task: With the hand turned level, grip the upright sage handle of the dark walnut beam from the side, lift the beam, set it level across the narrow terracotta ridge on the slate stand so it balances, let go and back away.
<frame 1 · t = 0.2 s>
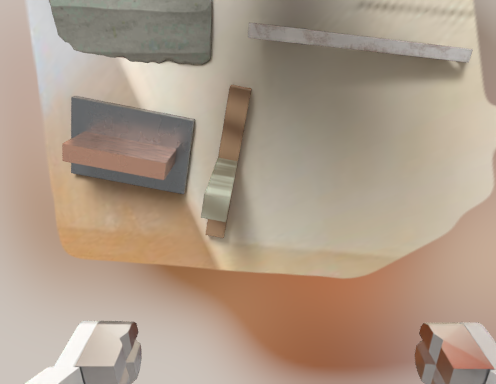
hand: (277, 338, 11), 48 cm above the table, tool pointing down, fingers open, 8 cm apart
stone slab: (133, 24, 53), on the table
walnut beam: (227, 163, 59), on the table
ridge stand: (132, 145, 59), on the table
wrench: (357, 42, 52), on the table
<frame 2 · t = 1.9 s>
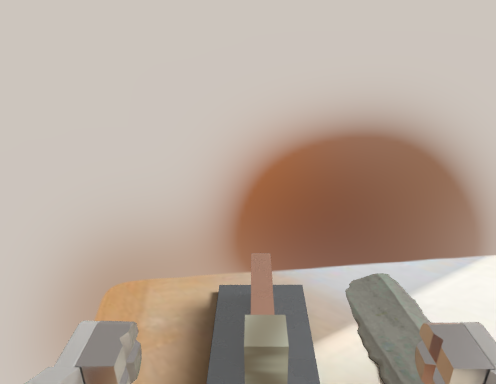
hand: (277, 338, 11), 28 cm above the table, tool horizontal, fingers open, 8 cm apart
stone slab: (395, 335, 48), on the table
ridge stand: (261, 338, 47), on the table
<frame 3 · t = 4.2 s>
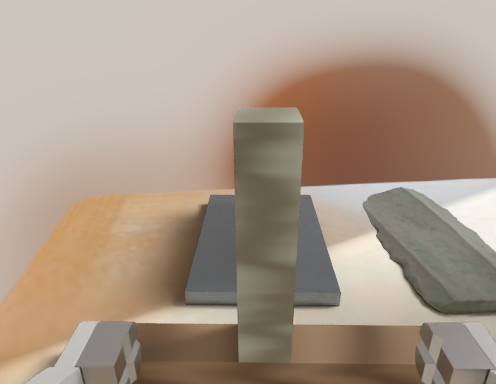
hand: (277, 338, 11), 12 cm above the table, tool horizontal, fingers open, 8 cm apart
stone slab: (423, 243, 39), on the table
walnut beam: (263, 371, 24), on the table
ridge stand: (260, 243, 38), on the table
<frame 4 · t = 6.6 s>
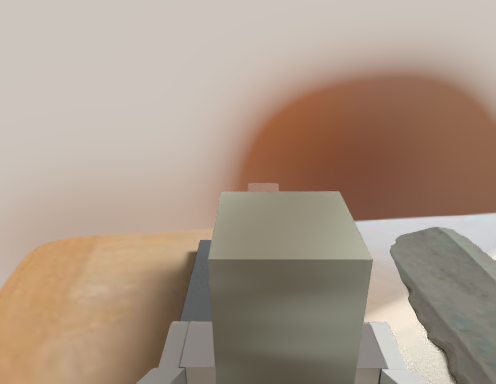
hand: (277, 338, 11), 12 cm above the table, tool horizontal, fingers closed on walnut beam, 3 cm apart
stone slab: (469, 311, 30), on the table
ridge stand: (264, 315, 29), on the table
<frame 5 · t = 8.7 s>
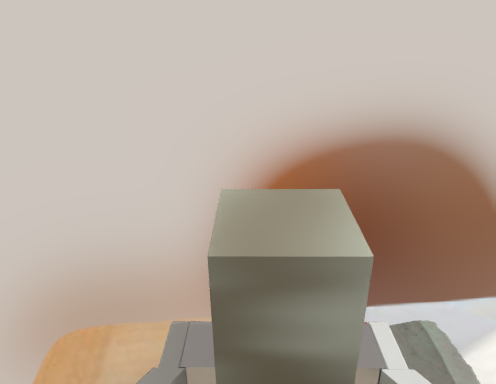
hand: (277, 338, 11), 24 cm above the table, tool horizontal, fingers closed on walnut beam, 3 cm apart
when the fingers open (21 cm above the table, at t = 10.9 s): walnut beam stays where it is, resting on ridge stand.
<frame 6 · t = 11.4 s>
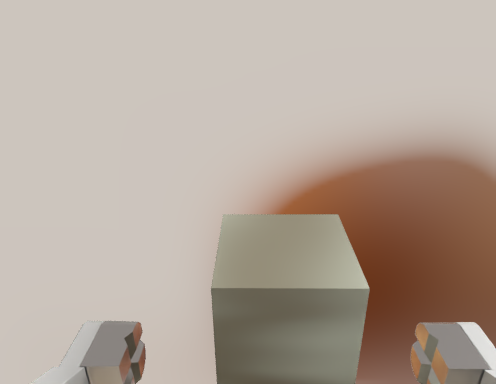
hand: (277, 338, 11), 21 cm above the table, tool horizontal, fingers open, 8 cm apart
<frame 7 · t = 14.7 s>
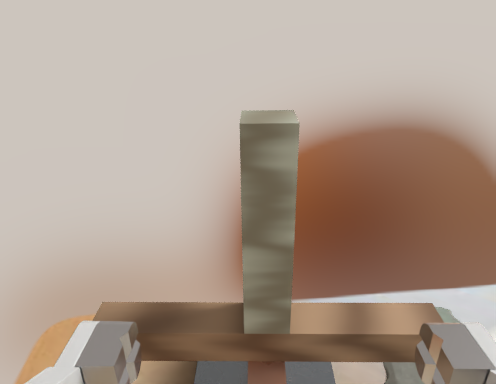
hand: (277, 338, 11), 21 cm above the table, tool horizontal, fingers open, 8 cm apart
walnut beam: (266, 344, 27), point 8 cm above the table, touching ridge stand
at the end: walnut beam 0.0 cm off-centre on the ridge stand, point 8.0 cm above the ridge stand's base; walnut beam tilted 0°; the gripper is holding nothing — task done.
